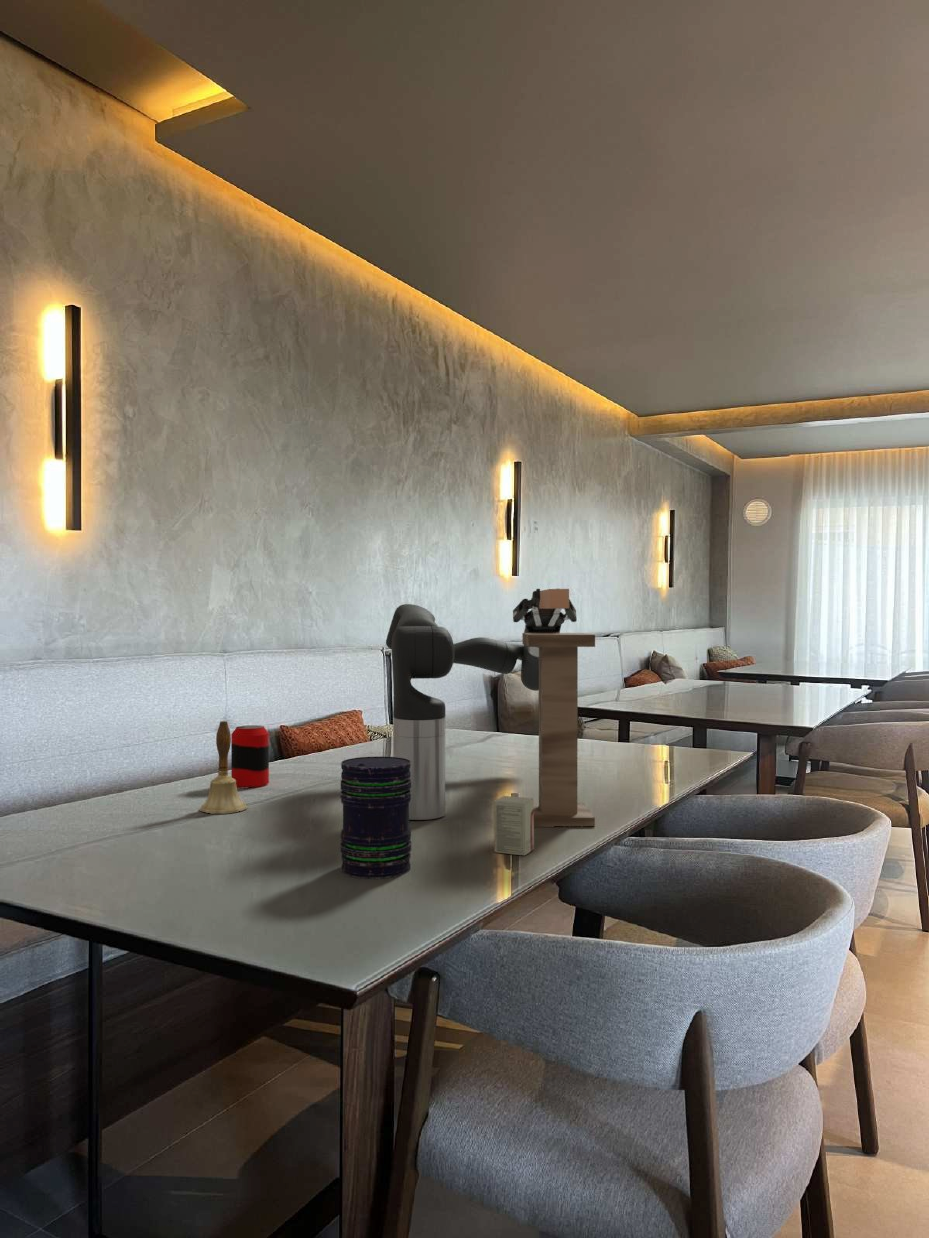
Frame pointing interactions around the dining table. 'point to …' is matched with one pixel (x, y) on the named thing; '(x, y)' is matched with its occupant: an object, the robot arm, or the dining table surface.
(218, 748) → the hand bell
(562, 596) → the block
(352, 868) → the storage jar
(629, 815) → the dining table surface
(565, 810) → the wooden pedestal stand
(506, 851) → the small box
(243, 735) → the soda can
